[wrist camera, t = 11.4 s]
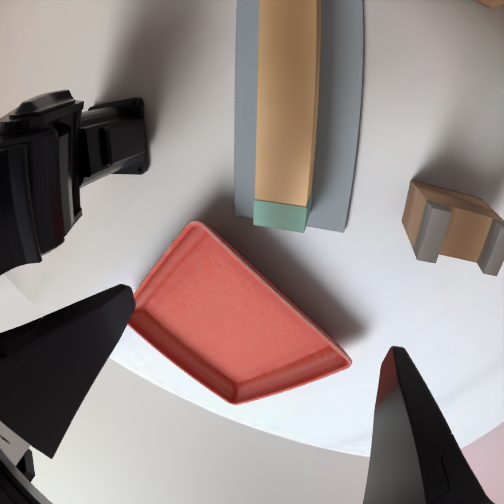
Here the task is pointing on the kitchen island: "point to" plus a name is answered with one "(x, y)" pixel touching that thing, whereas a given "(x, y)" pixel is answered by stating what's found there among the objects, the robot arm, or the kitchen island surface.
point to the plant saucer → (229, 322)
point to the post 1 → (453, 227)
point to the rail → (287, 111)
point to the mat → (329, 110)
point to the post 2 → (491, 3)
